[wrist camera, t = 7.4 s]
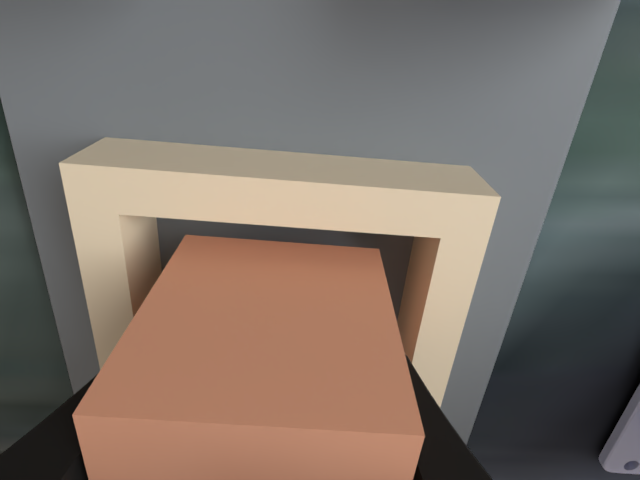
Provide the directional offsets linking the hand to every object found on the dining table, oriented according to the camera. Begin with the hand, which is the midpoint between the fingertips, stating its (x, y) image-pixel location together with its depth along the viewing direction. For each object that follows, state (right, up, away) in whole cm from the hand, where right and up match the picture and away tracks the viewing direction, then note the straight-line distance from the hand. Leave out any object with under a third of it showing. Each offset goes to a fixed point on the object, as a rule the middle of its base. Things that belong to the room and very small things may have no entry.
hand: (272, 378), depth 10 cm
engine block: (0, +1, +1) cm, 2 cm away
